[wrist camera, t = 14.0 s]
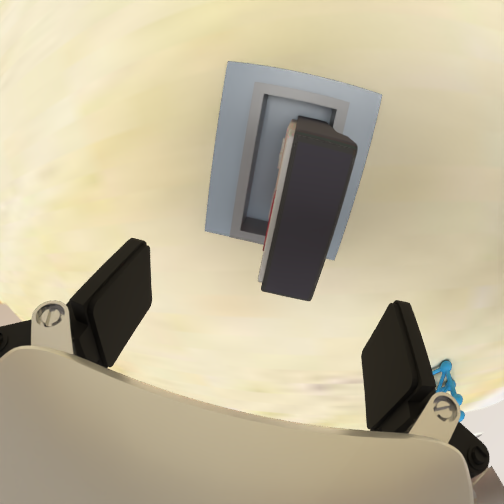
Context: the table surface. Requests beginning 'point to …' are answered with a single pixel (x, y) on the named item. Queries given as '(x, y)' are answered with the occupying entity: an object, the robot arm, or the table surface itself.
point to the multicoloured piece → (305, 206)
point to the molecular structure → (448, 384)
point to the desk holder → (277, 142)
